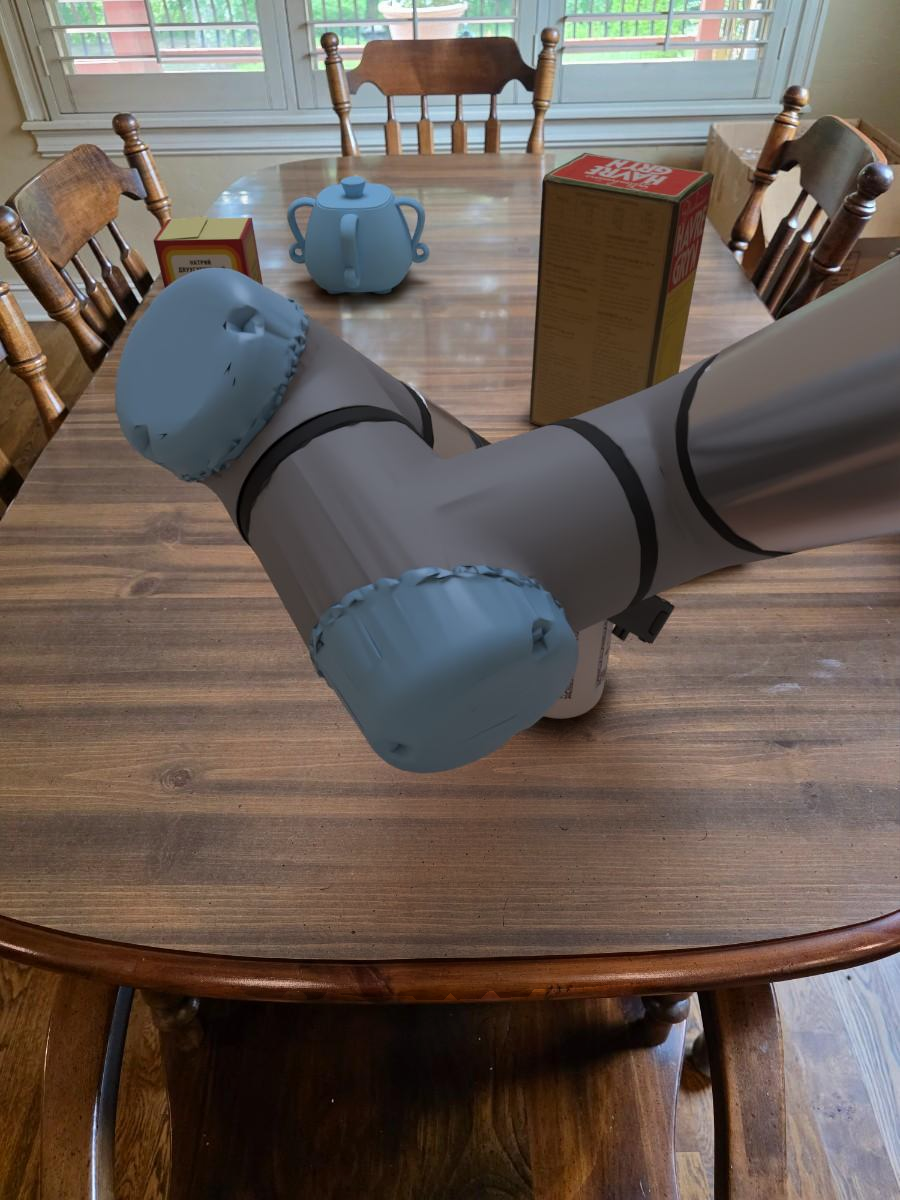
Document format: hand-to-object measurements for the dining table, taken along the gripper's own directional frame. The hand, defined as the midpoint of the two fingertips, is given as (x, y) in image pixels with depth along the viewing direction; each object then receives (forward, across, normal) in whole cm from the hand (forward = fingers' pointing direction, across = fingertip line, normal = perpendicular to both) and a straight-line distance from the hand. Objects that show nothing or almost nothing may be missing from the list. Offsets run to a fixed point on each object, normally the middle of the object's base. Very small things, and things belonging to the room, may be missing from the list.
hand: (592, 580), depth 61 cm
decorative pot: (+31, -70, +19) cm, 79 cm away
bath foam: (+4, 0, -8) cm, 10 cm away
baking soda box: (+13, -63, 0) cm, 64 cm away
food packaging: (+27, -22, +14) cm, 38 cm away
